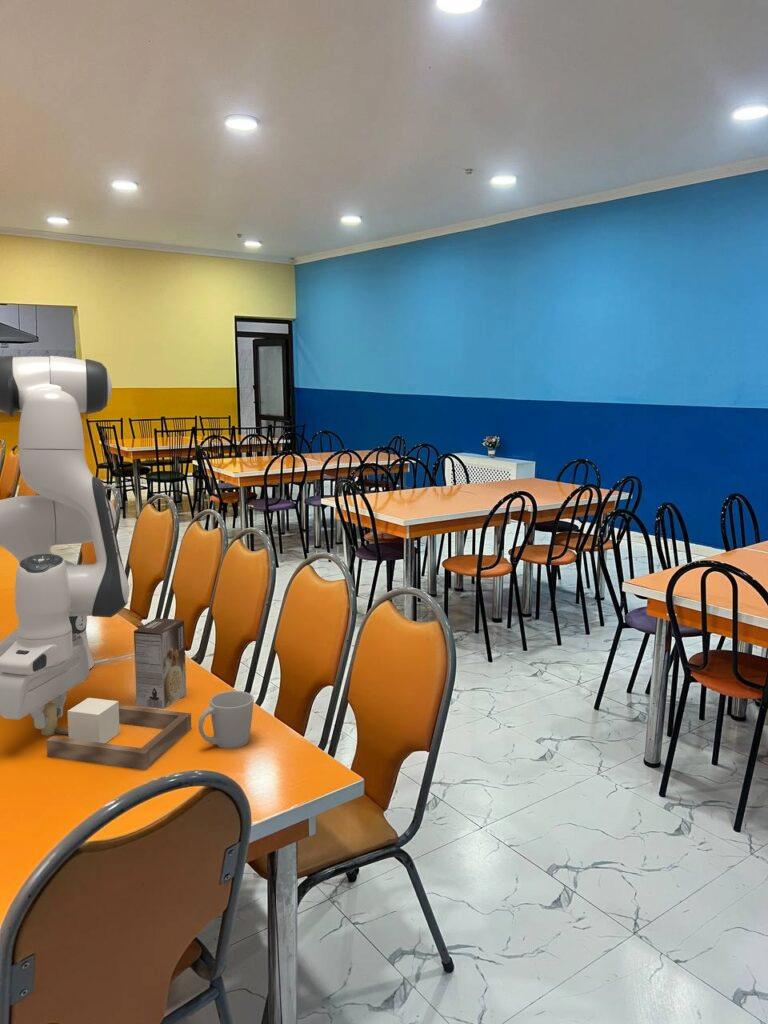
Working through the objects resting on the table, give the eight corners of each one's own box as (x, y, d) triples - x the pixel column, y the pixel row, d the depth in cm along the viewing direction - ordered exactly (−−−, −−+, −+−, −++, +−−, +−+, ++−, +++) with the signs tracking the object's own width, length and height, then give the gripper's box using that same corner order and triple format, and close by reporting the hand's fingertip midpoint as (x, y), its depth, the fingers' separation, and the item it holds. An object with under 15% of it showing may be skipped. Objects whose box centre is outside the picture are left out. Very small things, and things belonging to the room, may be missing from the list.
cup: (262, 746, 130) (262, 700, 129) (210, 763, 124) (209, 715, 123) (240, 731, 136) (240, 687, 135) (189, 746, 130) (189, 700, 128)
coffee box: (158, 691, 154) (156, 616, 151) (187, 694, 152) (185, 619, 150) (135, 709, 145) (132, 630, 142) (165, 712, 144) (163, 632, 141)
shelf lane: (47, 760, 124) (46, 740, 123) (103, 721, 139) (102, 702, 139) (145, 774, 120) (144, 753, 119) (191, 732, 135) (191, 713, 135)
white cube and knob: (31, 738, 130) (30, 706, 129) (54, 724, 136) (52, 693, 135) (99, 747, 127) (98, 714, 126) (119, 732, 133) (118, 701, 132)
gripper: (66, 629, 141) (69, 698, 143) (-12, 665, 121) (-8, 745, 123) (96, 631, 140) (98, 701, 142) (21, 669, 120) (26, 749, 122)
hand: (49, 722), depth 132 cm, fingers closed on white cube and knob, 3 cm apart
